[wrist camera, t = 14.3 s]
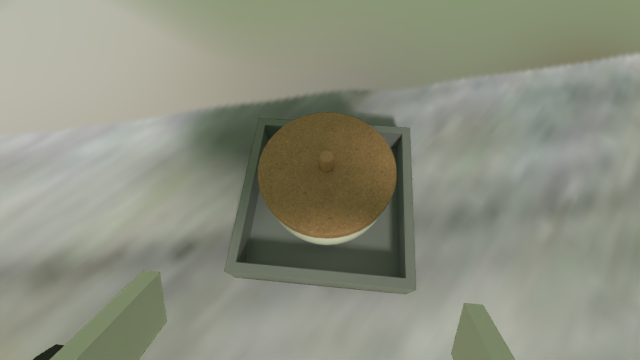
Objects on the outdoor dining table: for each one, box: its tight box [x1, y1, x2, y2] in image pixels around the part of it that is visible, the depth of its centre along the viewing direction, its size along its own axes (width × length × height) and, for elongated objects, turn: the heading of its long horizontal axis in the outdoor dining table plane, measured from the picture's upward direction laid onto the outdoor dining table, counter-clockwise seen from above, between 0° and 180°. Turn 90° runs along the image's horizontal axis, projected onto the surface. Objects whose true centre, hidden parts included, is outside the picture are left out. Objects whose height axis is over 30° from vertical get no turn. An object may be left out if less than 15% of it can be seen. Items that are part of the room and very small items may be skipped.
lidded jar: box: [258, 112, 397, 245], centre depth 26 cm, size 11×11×9 cm
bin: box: [224, 118, 416, 294], centre depth 29 cm, size 16×16×4 cm
